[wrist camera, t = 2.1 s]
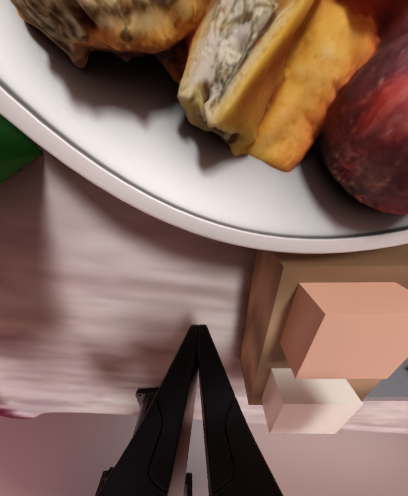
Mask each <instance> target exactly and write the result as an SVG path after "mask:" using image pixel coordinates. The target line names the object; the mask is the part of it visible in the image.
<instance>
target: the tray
mask: <svg viewBox="0 0 408 496" xmlns="http://www.w3.org/2000/svg"><path fill="white" fill-rule="evenodd" d="M362 401H408V357H407V359H406V360H405V361H404V362H403V363H402V364H401V365H400V366H399V367H398V368H397V369H396V370H395V371H394V372H393V373H392V374H391V375H390V376H389V377H388V378H387V379H382V380H381V381H380V382H379V383H378V384H377V385H376V386H375V387H374V389H373V390H372V391H371V392H370V393H369V394H368V395H367V396H366V397H365V398H364V399H363V400H362Z"/></svg>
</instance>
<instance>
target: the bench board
mask: <svg viewBox="0 0 408 496" xmlns="http://www.w3.org/2000/svg"><path fill="white" fill-rule="evenodd" d="M346 282H396V283H397V284H399V285H401V286H403V287H404V288H406V289H408V244H403V245H398V246H392V247H386V248H380V249H373V250H365V251H356V252H345V253H326V254H301V253H285V252H274V251H266V250H258V249H257V251H256V257H255V263H254V270H253V276H252V283H251V289H250V296H249V302H248V309H247V315H246V322H245V328H244V334H243V341H242V347H241V354H240V362H241V367H242V372H243V377H244V383H245V388H246V393H247V398H248V404H249V405H262V401H261V399H262V396H263V393H264V390H265V387H266V384H267V380H268V377H269V374H270V371H271V368H290V366H289V363H288V361H287V359H286V357H285V354H284V352H283V350H282V348H281V345H280V340H281V337H282V334H283V331H284V328H285V324H286V321H287V318H288V315H289V312H290V309H291V306H292V303H293V300H294V296H295V293H296V290H297V287H298V284H299V283H346ZM346 380H347V381H348V383H349V384H350V386H351V387H352V389H353V390H354V391H355V393H356V394H357V396H358V397H359V399H360V400H361V401H362V400H363V399H364V398H365V397H366V396H367V395H368V394H369V393H370V392H371V391H372V390H373V389H374V387H375V386H376V385H377V384H378V383H379V382H380V381H381V380H382V379H346Z"/></svg>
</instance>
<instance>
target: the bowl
mask: <svg viewBox="0 0 408 496" xmlns="http://www.w3.org/2000/svg"><path fill="white" fill-rule="evenodd" d="M0 114H1V115H2V116H3V117H5V118H6V119H7V120H8V121H10V122H11V123H12V124H13V125H14V126H16V127H17V128H18V129H19V130H21V131H22V132H23V133H24V134H25V135H27V136H28V137H29V138H30V139H32V140H33V141H34V142H35V143H37V144H38V145H39V146H41V147H42V148H43V149H45V150H46V151H47V152H49V153H50V154H51V155H53V156H54V157H55V158H57V159H58V160H60V161H61V162H62V163H64V164H65V165H66V166H68V167H69V168H71V169H72V170H74V171H75V172H77V173H78V174H80V175H81V176H83V177H84V178H86V179H87V180H89V181H90V182H92V183H93V184H95V185H96V186H98V187H100V188H101V189H103V190H105V191H106V192H108V193H110V194H111V195H113V196H115V197H116V198H118V199H120V200H121V201H123V202H125V203H127V204H129V205H131V206H133V207H135V208H136V209H138V210H140V211H142V212H144V213H146V214H148V215H150V216H153V217H155V218H157V219H159V220H161V221H164V222H166V223H168V224H170V225H173V226H176V227H178V228H181V229H183V230H186V231H188V232H191V233H194V234H197V235H200V236H203V237H207V238H210V239H213V240H217V241H220V242H224V243H228V244H232V245H237V246H242V247H247V248H253V249H258V250H266V251H274V252H285V253H301V254H326V253H345V252H356V251H365V250H373V249H380V248H386V247H392V246H398V245H403V244H408V0H0Z"/></svg>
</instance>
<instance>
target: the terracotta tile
mask: <svg viewBox="0 0 408 496" xmlns="http://www.w3.org/2000/svg"><path fill="white" fill-rule="evenodd" d="M280 345H281V348H282V350H283V352H284V354H285V357H286V359H287V361H288V363H289V366H290V368H291V370H292V373H293V375H294V377H295V379H387V378H388V377H389V376H390V375H391V374H392V373H393V372H394V371H395V370H396V369H397V368H398V367H399V366H400V365H401V364H402V363H403V362H404V361H405V360H406V359H407V357H408V289H406V288H404V287H403V286H401V285H399V284H397V283H396V282H346V283H299V284H298V287H297V290H296V293H295V296H294V300H293V303H292V306H291V309H290V312H289V315H288V318H287V321H286V324H285V328H284V331H283V334H282V337H281V340H280Z"/></svg>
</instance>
